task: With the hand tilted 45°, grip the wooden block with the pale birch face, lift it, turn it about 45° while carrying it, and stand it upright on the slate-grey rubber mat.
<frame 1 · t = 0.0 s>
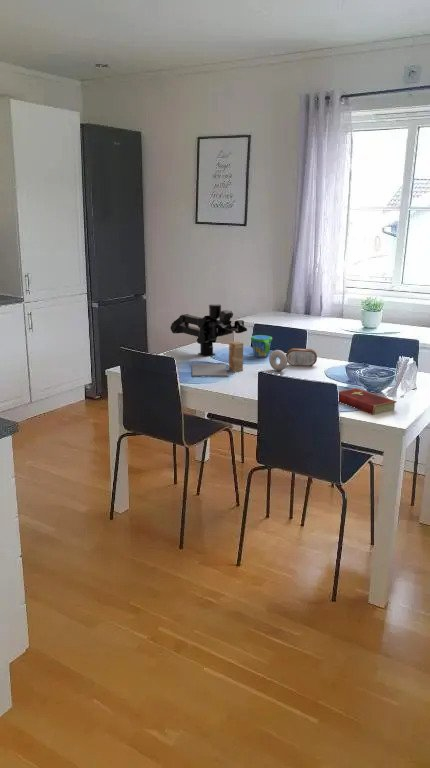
hand: (239, 330, 296), 17 cm above the table, tool horizontal, fingers open, 9 cm apart
wooden block: (235, 369, 289), on the table
donut: (277, 371, 289), on the table
slate mat: (209, 371, 287), on the table
snack cup: (260, 356, 316), on the table
tin: (301, 366, 299), on the table
hardcover book: (364, 406, 239), on the table
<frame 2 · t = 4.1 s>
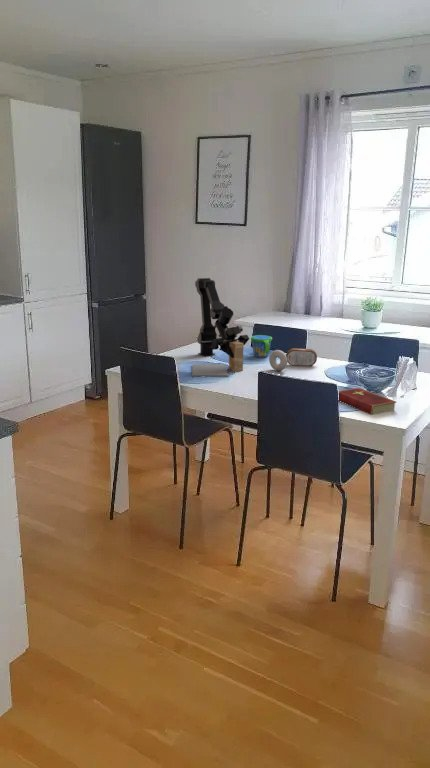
hand: (237, 356, 286), 7 cm above the table, tool tilted 45°, fingers closed on wooden block, 5 cm apart
wooden block: (235, 369, 289), on the table, touching gripper
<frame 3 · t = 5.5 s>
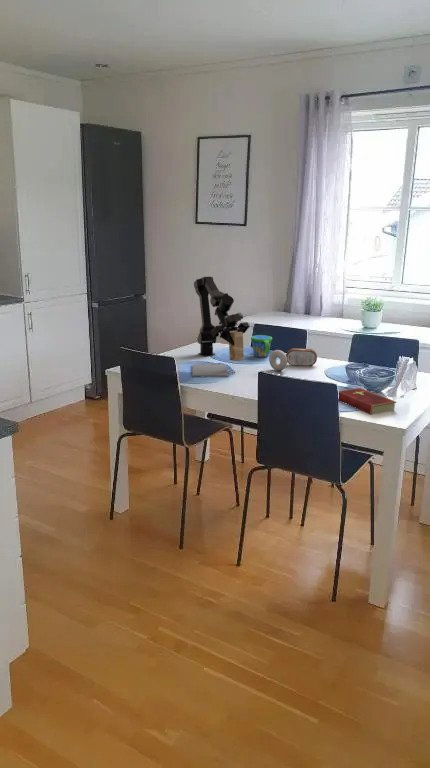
hand: (238, 344, 285), 13 cm above the table, tool tilted 45°, fingers closed on wooden block, 4 cm apart
wooden block: (236, 360, 287), point 5 cm above the table, tilted 6°, touching gripper
everything else where it was.
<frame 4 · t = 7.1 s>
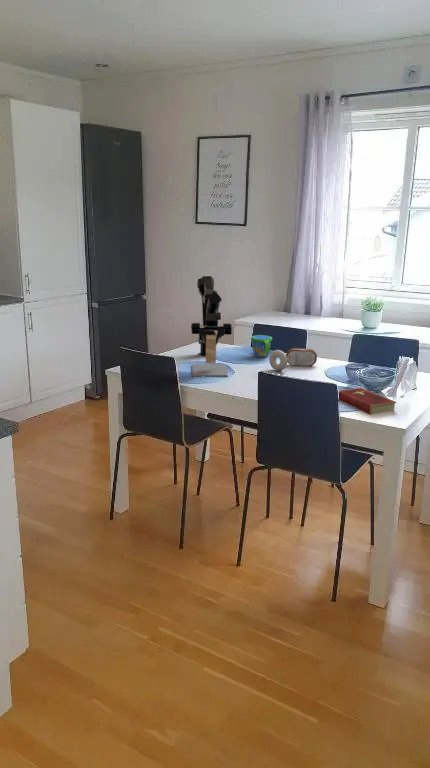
hand: (210, 344, 281), 13 cm above the table, tool tilted 45°, fingers closed on wooden block, 4 cm apart
wooden block: (210, 363, 284), point 4 cm above the table, tilted 13°, touching gripper
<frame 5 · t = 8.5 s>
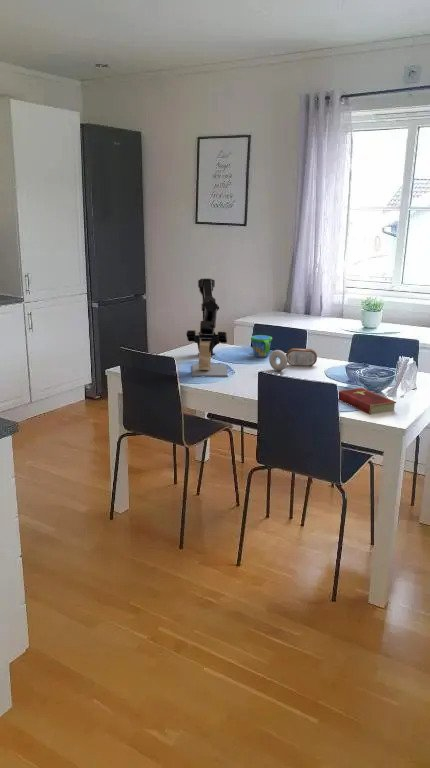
hand: (204, 351, 282), 10 cm above the table, tool tilted 45°, fingers closed on wooden block, 4 cm apart
wooden block: (204, 369, 284), point 1 cm above the table, tilted 11°, touching gripper, slate mat
when the fingers open (9 cm above the table, at t = 9.4 s): wooden block stays where it is, resting on slate mat.
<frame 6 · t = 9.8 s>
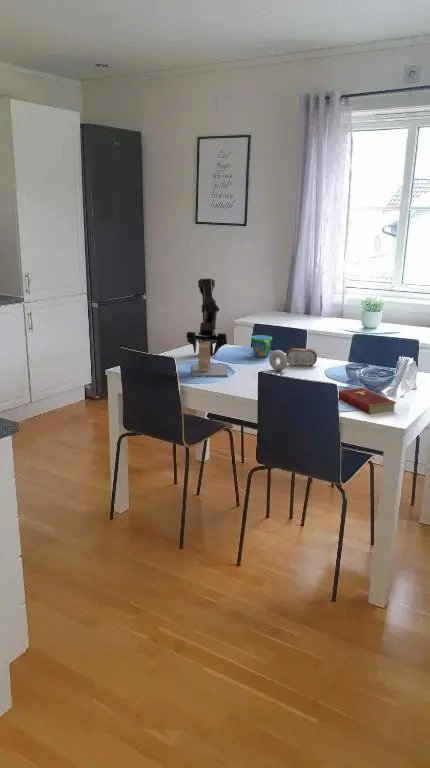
hand: (204, 353, 282), 9 cm above the table, tool tilted 45°, fingers open, 9 cm apart
wooden block: (204, 370, 284), point 1 cm above the table, touching slate mat
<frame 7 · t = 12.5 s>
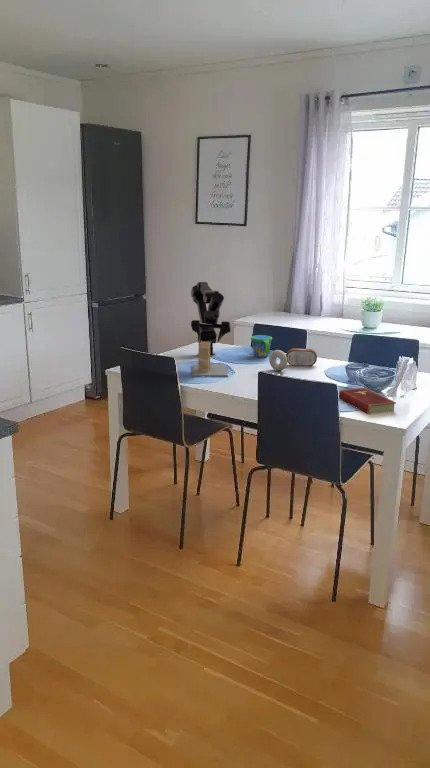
hand: (208, 340, 290), 13 cm above the table, tool tilted 45°, fingers open, 9 cm apart
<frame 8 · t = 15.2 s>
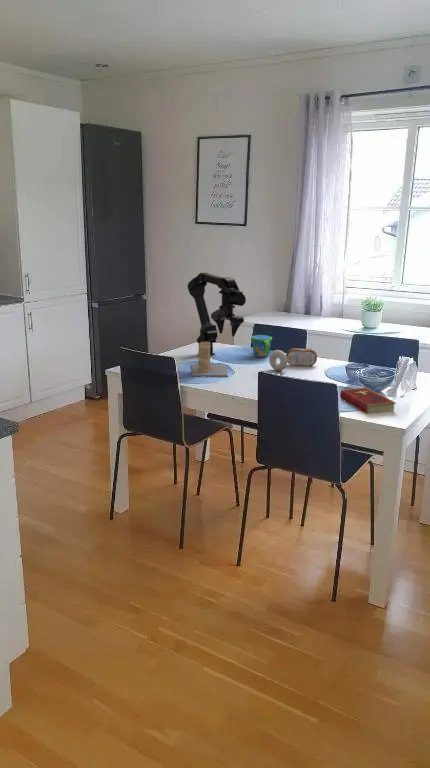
hand: (226, 335, 303), 13 cm above the table, tool pointing down, fingers open, 9 cm apart
at the end: wooden block inside the target area on the slate mat (1.7 cm from its centre), point 0.8 cm above the slate mat's base; wooden block tilted 0°; the gripper is holding nothing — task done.
